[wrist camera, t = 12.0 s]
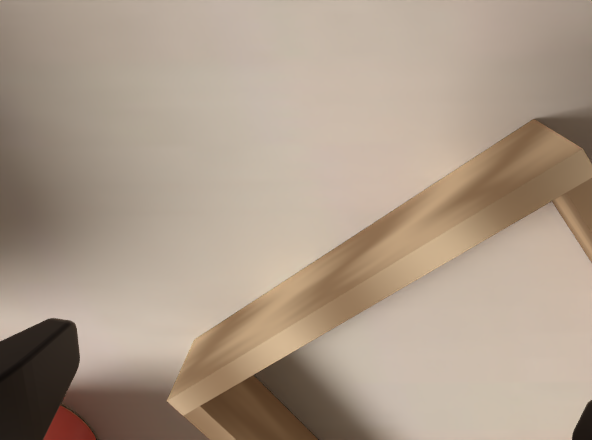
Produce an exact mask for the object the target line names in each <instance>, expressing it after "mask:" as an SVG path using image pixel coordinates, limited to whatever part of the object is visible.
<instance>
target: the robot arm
mask: <svg viewBox="0 0 592 440" xmlns="http://www.w3.org/2000/svg"><path fill="white" fill-rule="evenodd" d="M79 361H80V354H79V345H78V336H77V328H76V325H75V323H74V322H72V321H70V320H63V319H56V318H51V319H47V320H45V321H43V322H41V323H39V324H36V325H34V326H32V327H30V328H28V329H26V330H24V331H22V332H19V333H17V334H15V335H13V336H11V337H9V338H7V339H4V340H2V341H0V440H43V439H44V437H45V435H46V433H47V431H48V429H49V427H50V425H51V423H52V421H53V419H54V417H55V414H56V412H57V410H58V408H59V406H60V404H61V402H62V400H63V398H64V396H65V394H66V392H67V390H68V388H69V386H70V384H71V382H72V380H73V378H74V376H75V374H76V371H77V369H78V366H79ZM572 440H592V400H591V401H589V402H588V404H587V405H586V407H585V409H584V411H583V413H582V415H581V417H580V419H579V421H578V423H577V425H576V427H575V429H574V432H573V436H572Z"/></svg>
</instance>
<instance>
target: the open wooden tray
mask: <svg viewBox="0 0 592 440" xmlns="http://www.w3.org/2000/svg"><path fill="white" fill-rule="evenodd" d="M551 201H552V202H553V203H554V205H555V207H556V208H557V210H558V211H559V213H560V214H561V216H562V217H563V219H564V221H565V222H566V224H567V225H568V227H569V228H570V230H571V231H572V233H573V234H574V236H575V238H576V239H577V241H578V242H579V244H580V245H581V247H582V248H583V250H584V252H585V253H586V255H587V256H588V258H589V259H590V261H591V262H592V163H591V162H590V160H589V158H588V157H587V155H586V153H585V152H584V150H583V148H581V147H579V146H578V145H576V144H574V143H573V142H571V141H569V140H568V139H566V138H565V137H563V136H561V135H560V134H558V133H556V132H555V131H553V130H551V129H550V128H548V127H547V126H545V125H543V124H542V123H540V122H538V121H537V120H535V119H533V120H531V121H530V122H528V123H527V124H525V125H524V126H522V127H521V128H519V129H518V130H516V131H515V132H513V133H511V134H510V135H508V136H507V137H505V138H504V139H502V140H501V141H499V142H498V143H496V144H495V145H493V146H492V147H490V148H488V149H487V150H485V151H484V152H482V153H481V154H479V155H478V156H476V157H475V158H473V159H472V160H470V161H468V162H467V163H465V164H464V165H462V166H461V167H459V168H458V169H456V170H455V171H453V172H452V173H450V174H448V175H447V176H445V177H444V178H442V179H441V180H439V181H438V182H436V183H435V184H433V185H432V186H430V187H428V188H427V189H425V190H424V191H422V192H421V193H419V194H418V195H416V196H415V197H413V198H412V199H410V200H408V201H407V202H405V203H404V204H402V205H401V206H399V207H398V208H396V209H395V210H393V211H392V212H390V213H388V214H387V215H385V216H384V217H382V218H381V219H379V220H378V221H376V222H375V223H373V224H372V225H370V226H369V227H367V228H365V229H364V230H362V231H361V232H359V233H358V234H356V235H355V236H353V237H352V238H350V239H349V240H347V241H345V242H344V243H342V244H341V245H339V246H338V247H336V248H335V249H333V250H332V251H330V252H329V253H327V254H325V255H324V256H322V257H321V258H319V259H318V260H316V261H315V262H313V263H312V264H310V265H309V266H307V267H305V268H304V269H302V270H301V271H299V272H298V273H296V274H295V275H293V276H292V277H290V278H289V279H287V280H285V281H284V282H282V283H281V284H279V285H278V286H276V287H275V288H273V289H272V290H270V291H269V292H267V293H266V294H264V295H262V296H261V297H259V298H258V299H256V300H255V301H253V302H252V303H250V304H249V305H247V306H246V307H244V308H242V309H241V310H239V311H238V312H236V313H235V314H233V315H232V316H230V317H229V318H227V319H226V320H224V321H222V322H221V323H219V324H218V325H216V326H215V327H213V328H212V329H210V330H209V331H207V332H206V333H204V334H202V335H201V336H199V337H198V338H196V339H195V340H194V341H193V343H192V346H191V348H190V350H189V352H188V355H187V357H186V359H185V361H184V364H183V366H182V368H181V370H180V373H179V375H178V377H177V379H176V381H175V384H174V386H173V388H172V390H171V393H170V395H169V397H168V399H167V402H168V403H169V404H171V405H172V406H173V407H174V408H175V409H176V410H177V411H178V412H179V413H181V414H182V415H183V416H184V417H185V418H186V419H187V420H188V421H189V422H191V423H192V424H193V425H194V426H195V427H196V428H197V429H198V430H199V431H201V432H202V433H203V434H204V435H205V436H206V437H207V438H208V439H209V440H318V439H317V438H316V437H315V436H314V435H313V434H312V433H311V432H310V431H309V430H308V429H307V428H306V427H305V426H304V425H303V424H302V423H301V422H300V421H299V420H298V419H297V418H296V417H295V416H294V415H293V414H292V413H291V412H290V411H289V410H288V409H287V408H286V407H285V406H284V405H283V404H282V403H281V402H280V401H279V400H278V399H277V398H276V397H275V396H274V395H273V394H272V393H271V392H270V391H269V390H268V389H267V388H266V387H265V386H264V385H263V384H262V383H261V382H260V381H259V380H258V379H257V378H256V377H255V376H254V374H256V373H257V372H259V371H261V370H263V369H264V368H266V367H268V366H269V365H271V364H273V363H275V362H276V361H278V360H280V359H281V358H283V357H285V356H287V355H288V354H290V353H292V352H293V351H295V350H297V349H299V348H300V347H302V346H304V345H306V344H307V343H309V342H311V341H312V340H314V339H316V338H318V337H319V336H321V335H323V334H324V333H326V332H328V331H330V330H331V329H333V328H335V327H336V326H338V325H340V324H342V323H343V322H345V321H347V320H348V319H350V318H352V317H354V316H355V315H357V314H359V313H360V312H362V311H364V310H366V309H367V308H369V307H371V306H372V305H374V304H376V303H378V302H379V301H381V300H383V299H384V298H386V297H388V296H390V295H391V294H393V293H395V292H396V291H398V290H400V289H402V288H403V287H405V286H407V285H408V284H410V283H412V282H414V281H415V280H417V279H419V278H421V277H422V276H424V275H426V274H427V273H429V272H431V271H433V270H434V269H436V268H438V267H439V266H441V265H443V264H445V263H446V262H448V261H450V260H451V259H453V258H455V257H457V256H458V255H460V254H462V253H463V252H465V251H467V250H469V249H470V248H472V247H474V246H475V245H477V244H479V243H481V242H482V241H484V240H486V239H487V238H489V237H491V236H493V235H494V234H496V233H498V232H499V231H501V230H503V229H505V228H506V227H508V226H510V225H511V224H513V223H515V222H517V221H518V220H520V219H522V218H523V217H525V216H527V215H529V214H530V213H532V212H534V211H535V210H537V209H539V208H541V207H542V206H544V205H546V204H548V203H549V202H551Z"/></svg>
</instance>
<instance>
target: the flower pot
mask: <svg viewBox="0 0 592 440" xmlns="http://www.w3.org/2000/svg"><path fill="white" fill-rule="evenodd" d="M43 440H96V438H95V436H94V434H93V433H92V431H91V429H90V428H89V427H88V426H87V425H86V423H85V422H84V421H83V420H81V419H80V418H79V417H78V416H77V415H76V414H74V413H73V412H72V411H70V410H68V409H67V408H65V407H63V406H61V405H60V406H59V408H58V410H57V412H56V414H55V417H54V419H53V421H52V423H51V425H50V427H49V429H48V431H47V433H46V435H45V437H44V439H43Z"/></svg>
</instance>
